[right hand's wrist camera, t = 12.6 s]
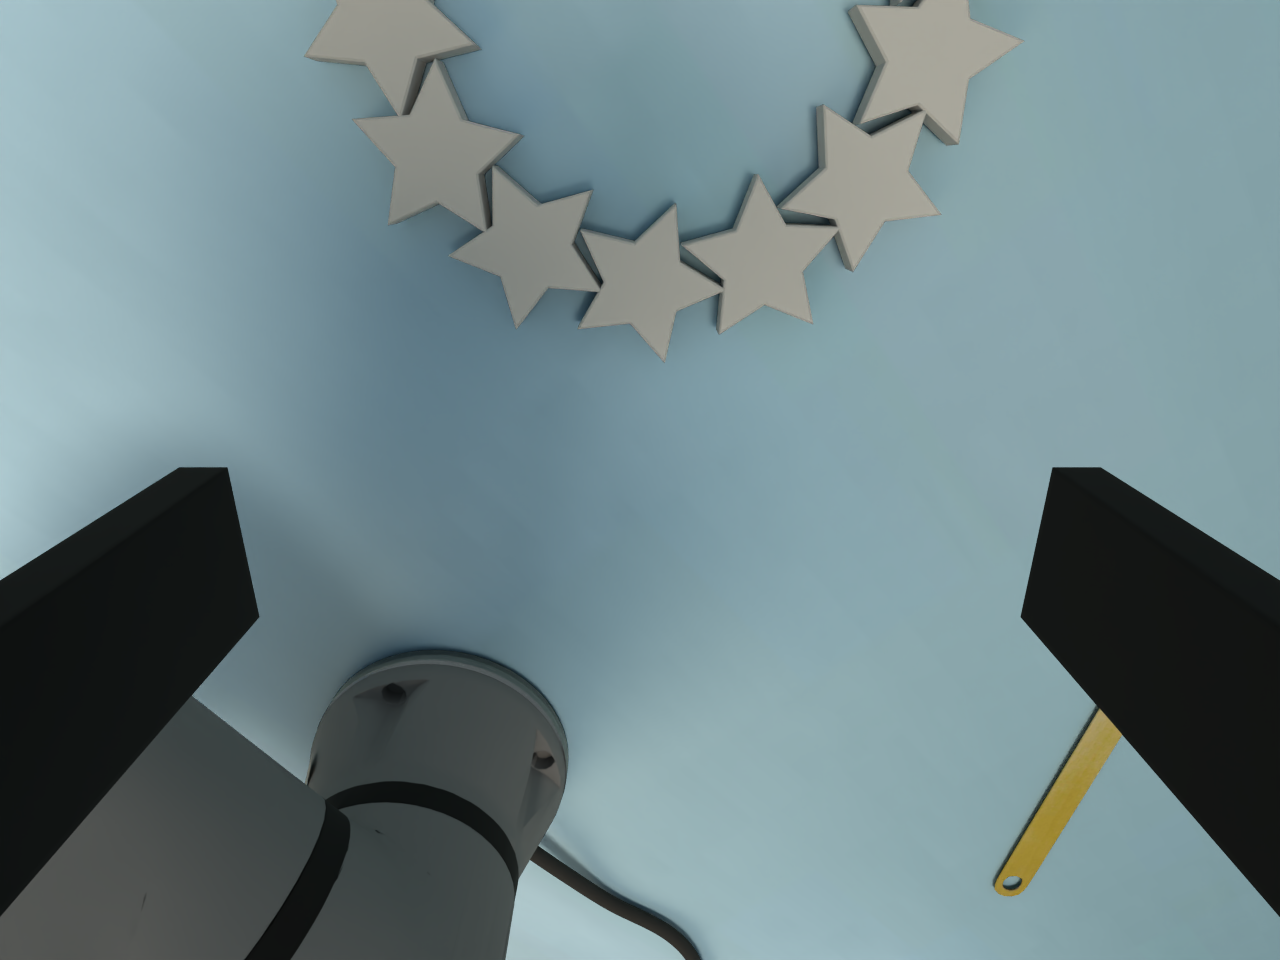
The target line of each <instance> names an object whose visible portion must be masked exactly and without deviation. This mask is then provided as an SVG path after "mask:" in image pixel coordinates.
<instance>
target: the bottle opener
mask: <svg viewBox="0 0 1280 960" xmlns="http://www.w3.org/2000/svg"><path fill="white" fill-rule="evenodd" d="M1121 736H1122V734H1121V733H1120V731H1119V730H1118V729H1117V728H1116V727H1115V726H1114V724H1113V723H1112V722H1111V721H1110V720H1109V719H1108V718H1107V716H1106V715H1105V714H1104V713H1103V712H1102V711H1101V709H1100V708H1099V710H1098V712H1097V713H1096V715H1095V717H1094V718H1093V720H1092V721H1091V723H1090V725H1089V726H1088V728H1087V730H1086V731H1085V733H1084V735H1083V736H1082V738H1081V740H1080V741H1079V743H1078V745H1077V746H1076V748H1075V750H1074V751H1073V753H1072V755H1071V756H1070V758H1069V760H1068V761H1067V763H1066V765H1065V766H1064V768H1063V770H1062V771H1061V773H1060V775H1059V776H1058V778H1057V780H1056V781H1055V783H1054V785H1053V786H1052V788H1051V790H1050V791H1049V793H1048V795H1047V796H1046V798H1045V800H1044V801H1043V803H1042V805H1041V806H1040V808H1039V810H1038V811H1037V813H1036V815H1035V816H1034V818H1033V820H1032V821H1031V823H1030V825H1029V826H1028V828H1027V830H1026V831H1025V833H1024V835H1023V836H1022V838H1021V840H1020V841H1019V843H1018V845H1017V846H1016V848H1015V850H1014V851H1013V853H1012V855H1011V856H1010V858H1009V860H1008V861H1007V863H1006V865H1005V866H1004V868H1003V870H1002V871H1001V873H1000V875H999V876H998V878H997V880H996V883H995V890H996V891H997V892H998V894H1001V895H1003V896H1015V895H1018V894H1020V893H1021V892H1023V891H1024V890H1025V888H1026V887H1027V886H1028V884H1029V883H1030V881H1031V880H1032V878H1033V877H1034V875H1035V873H1036V872H1037V870H1038V869H1039V867H1040V865H1041V864H1042V862H1043V861H1044V859H1045V857H1046V856H1047V854H1048V853H1049V851H1050V849H1051V848H1052V846H1053V845H1054V843H1055V841H1056V840H1057V838H1058V837H1059V835H1060V833H1061V832H1062V830H1063V829H1064V827H1065V825H1066V824H1067V822H1068V821H1069V819H1070V817H1071V816H1072V814H1073V813H1074V811H1075V809H1076V808H1077V806H1078V805H1079V803H1080V801H1081V800H1082V798H1083V797H1084V795H1085V793H1086V792H1087V790H1088V789H1089V787H1090V785H1091V784H1092V782H1093V781H1094V779H1095V777H1096V776H1097V774H1098V773H1099V771H1100V769H1101V768H1102V766H1103V765H1104V763H1105V761H1106V760H1107V758H1108V757H1109V755H1110V753H1111V752H1112V750H1113V749H1114V747H1115V745H1116V744H1117V742H1118V741H1119V739H1120V737H1121ZM1009 876H1018V877H1020V878H1021V879H1022V882H1021V885H1020V886H1019V887H1017V888H1015V889H1006V888H1004V887H1003V881H1004V880H1005V879H1006V878H1007V877H1009Z"/></svg>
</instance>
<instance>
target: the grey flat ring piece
mask: <svg viewBox="0 0 1280 960" xmlns="http://www.w3.org/2000/svg"><path fill="white" fill-rule="evenodd" d="M902 1H903V0H890V6H874V5H856V6H854V7H853V8H852V9H851V10H849V11H848V13H849V15H850V17H851V19H852V21H853V23H854V25H855V27H856V29H857V31H858V32H859V34H860V36H861V38H862V40H863V42H864V44H865V46H866V48H867V50H868V52H869V53H870V55H871V57H872V59H873V61H874V63H875V65H876V68H875V70H874V73H873V75H872V77H871V80H870V82H869V85H868V87H867V89H866V92H865V94H864V96H863V99H862V101H861V104H860V106H859V108H858V111H857V113H856V115H855V118H854V120H853V123H851V122H849V121H848V120H846V119H845V118H843V117H842V116H840V115H839V114H837V113H836V112H834V111H833V110H831V109H830V108H828V107H827V106H825V105H820V106H818V107H816V114H817V138H818V163H819V168H818V169H817V170H816V171H815V172H814V173H813V174H811V175H810V176H809V177H808V178H807V179H806V180H805V181H804V182H803V183H802V184H801V185H799V186H798V187H797V188H796V189H795V190H794V191H793V192H792V193H791V194H790V195H789V196H787V197H786V198H785V199H784V200H783V201H782V202H781V203H780V204H779V205H778V206H777V207H776V206H775V204H774V202H773V200H772V198H771V196H770V195H769V193H768V191H767V189H766V187H765V185H764V184H763V182H762V180H761V178H760V176H759V174H754V175H753V178H752V180H751V183H750V186H749V188H748V191H747V193H746V196H745V198H744V201H743V203H742V206H741V208H740V211H739V214H738V216H737V219H736V221H735V224H734V226H733V228H732V229H729V230H725V231H721V232H718V233H714V234H711V235H707V236H703V237H700V238H696V239H692V240H689V241H685V242H681V245H682V246H683V247H685V248H686V249H687V250H688V251H689V252H691V253H692V254H693V255H694V256H695V257H697V258H698V259H699V260H700V261H701V262H702V263H704V264H705V265H706V266H707V267H708V268H710V269H711V270H712V271H713V272H714V273H716V274H717V275H718V276H719V277H720V278H721V283H718V282H716V281H715V280H713V279H711V278H710V277H708V276H706V275H705V274H703V273H701V272H700V271H698V270H696V269H695V268H693V267H691V266H690V265H688V264H686V263H685V262H683V261H681V260H680V253H679V238H678V223H677V208H676V203H674V204H673V205H672V206H671V207H670V208H669V209H668V210H667V211H666V212H665V213H664V214H663V215H662V216H661V217H659V218H658V219H657V220H656V221H655V222H654V223H653V224H652V225H651V226H650V227H649V228H648V229H647V230H646V231H645V232H644V233H643V234H642V235H640V236H639V237H638V238H637V239H636V240H635V241H633V240H629V239H625V238H621V237H616V236H612V235H608V234H604V233H600V232H595V231H591V230H587V229H583V228H582V229H581V230H580V231H581V233H582V236H583V238H584V240H585V242H586V244H587V247H588V249H589V251H590V253H591V255H592V258H593V260H594V262H595V264H596V266H597V269H598V271H599V273H600V275H601V278H602V280H603V283H602V285H601V283H600V282H599V280H598V279H597V277H596V275H595V274H594V272H593V271H592V269H591V268H590V266H589V264H588V263H587V261H586V260H585V258H584V257H583V255H582V253H581V252H580V250H579V249H578V247H577V246H576V244H575V243H574V242H575V239H576V236H577V233H578V231H579V228H580V225H581V223H582V220H583V217H584V214H585V212H586V209H587V206H588V204H589V201H590V198H591V195H592V193H593V190H590V191H587V192H583V193H579V194H576V195H572V196H568V197H565V198H561V199H558V200H554V201H550V202H547V203H543V204H541V203H540V202H539V201H537V200H536V199H535V198H534V197H533V196H532V195H531V194H529V193H528V192H527V191H526V190H525V189H524V188H523V187H521V186H520V185H519V184H518V183H517V182H516V181H515V180H513V179H512V178H511V177H510V176H509V175H508V174H507V173H505V172H504V171H503V170H502V169H501V168H500V167H499V166H494V165H495V164H496V163H497V162H498V161H499V160H500V159H501V158H502V157H503V156H504V155H505V154H506V153H507V152H508V151H509V150H510V149H511V148H512V147H513V146H515V145H516V144H517V143H518V142H519V141H520V140H521V139H522V138H523V137H524V136H523V135H520V134H517V133H513V132H509V131H505V130H501V129H497V128H493V127H489V126H485V125H481V124H477V123H474V122H470V121H469V120H468V118H467V116H466V113H465V111H464V109H463V107H462V104H461V102H460V100H459V97H458V95H457V93H456V91H455V88H454V86H453V84H452V81H451V79H450V77H449V74H448V72H447V70H446V68H445V65H444V63H443V62H441V61H440V60H441V59H445V58H449V57H453V56H457V55H461V54H465V53H469V52H473V51H477V50H481V48H480V47H479V46H478V45H477V44H476V43H474V42H473V41H472V40H471V39H470V38H469V37H468V36H467V35H466V34H465V33H464V32H463V31H461V30H460V29H459V28H458V27H457V26H456V25H455V24H454V23H453V22H452V21H451V20H450V19H449V18H447V17H446V16H445V15H444V14H443V13H442V12H441V11H440V10H439V9H438V8H437V7H436V6H435V5H434V0H336V2H337V6H336V7H335V9H334V10H333V12H332V14H331V15H330V17H329V18H328V20H327V21H326V23H325V24H324V26H323V28H322V29H321V31H320V32H319V34H318V35H317V37H316V38H315V40H314V41H313V43H312V45H311V46H310V48H309V49H308V51H307V52H306V54H305V55H304V57H307V58H310V59H313V60H316V61H322V62H332V63H342V64H353V65H363V66H367V67H368V69H369V70H370V72H371V74H372V75H373V77H374V78H375V80H376V82H377V83H378V85H379V86H380V88H381V89H382V91H383V93H384V94H385V96H386V97H387V99H388V101H389V102H390V104H391V105H392V107H393V109H394V110H395V112H396V113H397V115H398V116H386V117H372V118H358V119H352V120H353V121H354V122H355V123H356V124H357V125H358V127H359V128H360V129H361V130H362V131H363V132H364V133H365V134H366V135H367V136H368V138H369V139H370V140H371V141H372V142H373V143H374V144H375V145H376V146H377V147H378V149H379V150H380V151H381V152H382V153H383V154H384V155H385V156H386V157H387V159H388V160H389V161H390V162H391V163H392V164H393V165H394V166H395V172H394V180H393V188H392V196H391V204H390V212H389V220H388V225H392V224H397V223H399V222H402V221H404V220H406V219H408V218H410V217H412V216H414V215H417V214H419V213H421V212H423V211H425V210H427V209H430V208H432V207H434V206H436V205H438V204H440V205H442V206H443V207H445V208H447V209H448V210H450V211H451V212H453V213H455V214H456V215H458V216H459V217H461V218H462V219H464V220H466V221H467V222H469V223H470V224H472V225H474V226H475V227H477V228H478V229H480V230H481V231H483V233H481V234H480V235H478V236H477V237H475V238H474V239H472V240H471V241H469V242H468V243H466V244H465V245H463V246H462V247H460V248H459V249H457V250H456V251H454V252H453V253H451V254H450V255H448V256H449V257H452V258H454V259H457V260H459V261H462V262H464V263H467V264H470V265H472V266H475V267H477V268H480V269H482V270H485V271H487V272H490V273H492V274H495V275H497V276H500V277H501V281H502V284H503V288H504V291H505V294H506V298H507V301H508V304H509V308H510V311H511V314H512V318H513V321H514V324H515V328H516V329H517V328H518V327H519V326H520V324H521V323H522V322H523V320H524V319H525V318H526V317H527V315H528V314H529V313H530V311H531V310H532V309H533V307H534V306H535V305H536V303H537V302H538V301H539V300H540V298H541V297H542V296H543V294H544V293H545V292H546V290H547V289H548V288H555V289H567V290H579V291H591V292H597V294H596V296H595V297H594V299H593V301H592V303H591V305H590V306H589V308H588V310H587V312H586V313H585V315H584V317H583V319H582V320H581V322H580V324H579V326H578V329H584V328H594V327H603V326H612V325H622V324H631V325H632V326H633V327H634V329H635V330H636V331H637V332H638V333H639V334H640V335H641V337H642V338H643V339H644V340H645V341H646V342H647V344H648V345H649V346H650V347H651V348H652V349H653V350H654V352H655V353H656V354H657V355H658V356H659V357H660V358H661V360H662V361H663V362H664V363H665V359H666V355H667V351H668V346H669V342H670V337H671V333H672V329H673V324H674V320H675V315H676V311H679V310H681V309H683V308H686V307H688V306H690V305H693V304H695V303H697V302H700V301H702V300H704V299H707V298H709V297H711V296H714V295H716V294H718V293H719V304H718V315H717V326H716V330H717V332H718V334H721V333H722V332H724V331H725V330H727V329H728V328H730V327H732V326H733V325H735V324H736V323H738V322H739V321H741V320H742V319H744V318H745V317H747V316H748V315H750V314H752V313H753V312H755V311H756V310H758V309H759V308H761V307H762V306H764V305H766V306H769V307H771V308H774V309H776V310H779V311H781V312H784V313H786V314H789V315H791V316H794V317H796V318H799V319H801V320H804V321H806V322H809V323H811V324H813V320H812V315H811V310H810V305H809V300H808V295H807V290H806V285H805V280H804V275H803V271H804V270H805V269H806V267H807V266H808V265H809V264H810V263H811V262H812V261H813V259H814V258H815V257H816V256H817V255H818V254H819V252H820V251H821V250H822V249H823V248H824V247H825V246H826V244H827V243H828V242H829V241H830V240H831V239H832V238H833V236H834V237H835V240H836V243H837V246H838V248H839V251H840V254H841V257H842V260H843V263H844V266H845V269H848V270H850V271H852V272H853V271H854V270H855V268H856V267H857V265H858V263H859V262H860V260H861V259H862V257H863V255H864V254H865V252H866V251H867V249H868V248H869V246H870V244H871V243H872V241H873V240H874V238H875V236H876V235H877V233H878V232H879V230H880V228H881V227H882V225H883V224H884V222H885V221H892V220H901V219H909V218H918V217H926V216H935V215H941V213H940V212H939V211H938V209H937V208H936V207H935V205H934V204H933V203H932V201H931V200H930V199H929V198H928V196H927V195H926V194H925V192H924V191H923V190H922V188H921V187H920V186H919V184H918V183H917V182H916V180H915V179H914V178H913V176H912V175H911V174H910V172H909V171H908V170H909V166H910V163H911V160H912V157H913V154H914V150H915V147H916V144H917V141H918V137H919V134H920V131H921V128H922V125H923V123H924V124H925V125H926V126H927V127H928V128H929V129H930V130H931V131H932V132H933V133H934V134H935V135H936V136H937V137H938V138H939V139H940V140H941V141H942V142H943V143H944V144H945V145H946V146H947V145H958V144H959V140H960V133H961V127H962V121H963V114H964V108H965V101H966V95H967V88H968V82H969V79H970V78H971V77H973V76H974V75H976V74H977V73H979V72H980V71H982V70H983V69H985V68H986V67H987V66H989V65H990V64H992V63H993V62H995V61H996V60H998V59H999V58H1001V57H1002V56H1003V55H1005V54H1006V53H1008V52H1009V51H1011V50H1012V49H1014V48H1015V47H1017V46H1018V45H1019V44H1021V43H1022V42H1024V40H1021V39H1019V38H1016V37H1014V36H1012V35H1009V34H1007V33H1004V32H1002V31H999V30H997V29H995V28H992V27H990V26H987V25H985V24H983V23H980V22H978V21H975V20H973V19H971V18H970V11H969V2H968V0H917V1H916V2H915V3H914V5H913V6H912V7H902V6H896V5H898V4H899V3H901V2H902ZM429 62H433V64H432V66H431V68H430V70H429V73H428V75H427V77H426V79H425V81H424V84H423V86H422V88H421V90H420V93H419V95H418V91H419V88H420V84H421V80H422V77H423V73H424V70H425V66H426V63H429ZM417 95H418V97H417ZM416 98H417V99H416ZM907 108H908V109H909V110H910V111H911V112H912V113H911V114H909V115H907V116H905V117H903V118H901V119H899V120H897V121H895V122H893V123H891V124H889V125H887V126H885V127H883V128H881V129H879V130H877V131H875V132H873V133H871V134H867V133H866V132H864V131H863V130H861V129H860V128H858V127H857V126H855V125H858V124H861V123H864V122H867V121H871V120H874V119H877V118H880V117H883V116H886V115H889V114H892V113H895V112H898V111H901V110H904V109H907ZM491 167H492V211H493V226H492V223H491V217H490V210H489V203H488V196H487V189H486V183H485V176H484V174H485V173H486V172H487V171H488V170H489V169H490V168H491ZM777 208H780V209H785V210H790V211H795V212H800V213H805V214H810V215H815V216H820V217H825V218H828V219H829V222H830V225H819V224H795V223H785V222H784V220H783V218H782V217H781V215H780V213H779V211H778V209H777Z"/></svg>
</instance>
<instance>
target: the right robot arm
mask: <svg viewBox="0 0 1280 960" xmlns="http://www.w3.org/2000/svg"><path fill="white" fill-rule="evenodd" d="M258 618H259V613H258V608H257V603H256V599H255V594H254V589H253V585H252V580H251V575H250V571H249V566H248V561H247V557H246V552H245V547H244V543H243V538H242V533H241V529H240V524H239V519H238V515H237V510H236V505H235V501H234V496H233V491H232V487H231V482H230V477H229V473H228V468H227V467H179V468H178V469H176V470H174V471H173V472H171V473H170V474H168V475H167V476H165V477H163V478H162V479H160V480H159V481H157V482H155V483H154V484H152V485H151V486H149V487H147V488H146V489H144V490H143V491H141V492H140V493H138V494H136V495H135V496H133V497H132V498H130V499H128V500H127V501H125V502H124V503H122V504H121V505H119V506H117V507H116V508H114V509H113V510H111V511H109V512H108V513H106V514H105V515H103V516H102V517H100V518H98V519H97V520H95V521H94V522H92V523H90V524H89V525H87V526H86V527H84V528H83V529H81V530H79V531H78V532H76V533H75V534H73V535H71V536H70V537H68V538H67V539H65V540H64V541H62V542H60V543H59V544H57V545H56V546H54V547H52V548H51V549H49V550H48V551H46V552H45V553H43V554H41V555H40V556H38V557H37V558H35V559H33V560H32V561H30V562H29V563H27V564H26V565H24V566H22V567H21V568H19V569H18V570H16V571H14V572H13V573H11V574H10V575H8V576H7V577H5V578H3V579H2V580H0V960H505V958H506V952H507V946H508V940H509V933H510V927H511V921H512V915H513V908H514V901H515V896H516V891H517V885H518V879H519V877H520V876H521V874H522V872H523V870H524V869H525V867H526V865H527V864H528V862H529V860H531V861H532V862H534V863H535V864H537V865H538V866H540V867H541V868H543V869H544V870H546V871H547V872H549V873H550V874H552V875H553V876H555V877H556V878H558V879H559V880H561V881H562V882H564V883H565V884H567V885H568V886H570V887H572V888H573V889H575V890H576V891H578V892H579V893H581V894H582V895H584V896H585V897H587V898H589V899H590V900H592V901H593V902H595V903H597V904H598V905H600V906H602V907H603V908H605V909H607V910H609V911H611V912H613V913H614V914H616V915H618V916H621V917H623V918H625V919H627V920H629V921H631V922H633V923H635V924H638V925H640V926H642V927H644V928H646V929H648V930H650V931H652V932H654V933H655V934H657V935H659V936H660V937H662V938H663V939H665V940H666V941H668V942H669V943H670V944H671V945H673V946H674V947H675V948H676V949H677V950H678V951H679V952H680V953H681V954H682V956H683V957H684V958H685V960H701V959H700V957H699V955H698V953H697V952H696V950H695V949H694V947H693V946H692V944H691V943H690V942H689V941H688V940H687V939H686V938H685V937H684V936H683V935H682V934H681V933H680V932H678V931H677V930H676V929H675V928H673V927H672V926H670V925H669V924H667V923H666V922H664V921H662V920H661V919H659V918H657V917H655V916H653V915H651V914H649V913H647V912H645V911H643V910H641V909H639V908H637V907H634V906H632V905H630V904H628V903H626V902H624V901H622V900H620V899H618V898H616V897H615V896H613V895H611V894H610V893H608V892H606V891H605V890H603V889H601V888H600V887H598V886H597V885H595V884H594V883H592V882H590V881H589V880H587V879H586V878H584V877H583V876H581V875H580V874H578V873H577V872H576V871H574V870H573V869H571V868H570V867H568V866H567V865H565V864H564V863H562V862H561V861H559V860H558V859H556V858H555V857H553V856H552V855H550V854H549V853H548V852H546V851H545V850H543V849H542V848H540V847H539V846H538V845H539V843H540V842H541V840H542V838H543V836H544V835H545V833H546V831H547V830H548V828H549V826H550V825H551V823H552V821H553V819H554V817H555V815H556V813H557V811H558V808H559V805H560V802H561V799H562V796H563V793H564V789H565V784H566V777H567V769H568V746H567V741H566V736H565V733H564V730H563V727H562V725H561V723H560V721H559V718H558V717H557V715H556V713H555V712H554V710H553V708H552V707H551V706H550V704H549V703H548V702H547V700H546V699H545V698H544V697H543V696H542V695H541V694H540V692H538V691H537V690H536V689H535V688H534V687H533V686H532V685H531V684H530V683H528V682H527V681H526V680H524V679H523V678H522V677H520V676H519V675H517V674H516V673H514V672H512V671H511V670H509V669H507V668H505V667H503V666H501V665H499V664H497V663H494V662H492V661H489V660H487V659H484V658H481V657H478V656H474V655H470V654H466V653H460V652H454V651H443V650H422V651H412V652H407V653H401V654H397V655H394V656H390V657H387V658H385V659H382V660H379V661H377V662H375V663H373V664H371V665H369V666H367V667H365V668H364V669H362V670H361V671H359V672H358V673H356V674H355V675H354V676H353V677H351V678H350V679H349V680H348V681H347V682H346V683H345V684H344V685H343V686H342V687H341V688H340V690H339V691H338V692H337V694H336V695H335V697H334V698H333V700H332V702H331V703H330V705H329V707H328V708H327V710H326V712H325V713H324V715H323V717H322V719H321V721H320V723H319V726H318V729H317V732H316V735H315V738H314V741H313V744H312V749H311V755H310V764H309V768H308V772H307V777H306V781H305V783H303V782H302V781H301V780H299V779H298V778H296V777H295V776H294V775H293V774H291V773H290V772H289V771H287V770H286V769H285V768H284V767H282V766H281V765H280V764H278V763H277V762H276V761H275V760H273V759H272V758H271V757H269V756H268V755H267V754H266V753H264V752H263V751H262V750H260V749H259V748H258V747H257V746H255V745H254V744H253V743H252V742H250V741H249V740H248V739H246V738H245V737H244V736H243V735H241V734H240V733H239V732H237V731H236V730H235V729H234V728H232V727H231V726H230V725H228V724H227V723H226V722H225V721H223V720H222V719H221V718H219V717H218V716H217V715H216V714H214V713H213V712H212V711H211V710H209V709H208V708H207V707H205V706H204V705H203V704H202V703H200V702H199V701H198V700H196V699H195V698H194V697H193V696H192V694H193V693H194V692H195V691H196V690H197V689H198V687H199V686H200V685H201V684H202V683H203V682H204V681H205V679H206V678H207V677H208V676H209V675H210V674H211V672H212V671H213V670H214V669H215V668H216V667H217V665H218V664H219V663H220V662H221V661H222V660H223V659H224V657H225V656H226V655H227V654H228V653H229V652H230V650H231V649H232V648H233V647H234V646H235V645H236V643H237V642H238V641H239V640H240V639H241V638H242V637H243V635H244V634H245V633H246V632H247V631H248V630H249V628H250V627H251V626H252V625H253V624H254V623H255V621H256V620H257V619H258ZM1021 618H1022V619H1023V620H1024V622H1025V623H1026V624H1027V625H1028V626H1029V627H1030V628H1031V630H1032V631H1033V632H1034V633H1035V634H1036V635H1037V637H1038V638H1039V639H1040V640H1041V641H1042V642H1043V643H1044V645H1045V646H1046V647H1047V648H1048V649H1049V650H1050V652H1051V653H1052V654H1053V655H1054V656H1055V657H1056V659H1057V660H1058V661H1059V662H1060V663H1061V664H1062V665H1063V667H1064V668H1065V669H1066V670H1067V671H1068V672H1069V674H1070V675H1071V676H1072V677H1073V678H1074V679H1075V681H1076V682H1077V683H1078V684H1079V685H1080V686H1081V687H1082V689H1083V690H1084V691H1085V692H1086V693H1087V694H1088V696H1089V697H1090V698H1091V699H1092V700H1093V701H1094V703H1095V704H1096V705H1097V706H1098V707H1099V708H1100V709H1101V711H1102V712H1103V713H1104V714H1105V715H1106V716H1107V718H1108V719H1109V720H1110V721H1111V722H1112V723H1113V724H1114V726H1115V727H1116V728H1117V729H1118V730H1119V731H1120V733H1121V734H1122V735H1123V736H1124V737H1125V738H1126V740H1127V741H1128V742H1129V743H1130V744H1131V745H1132V746H1133V748H1134V749H1135V750H1136V751H1137V752H1138V753H1139V755H1140V756H1141V757H1142V758H1143V759H1144V760H1145V762H1146V763H1147V764H1148V765H1149V766H1150V767H1151V768H1152V770H1153V771H1154V772H1155V773H1156V774H1157V775H1158V777H1159V778H1160V779H1161V780H1162V781H1163V782H1164V784H1165V785H1166V786H1167V787H1168V788H1169V789H1170V790H1171V792H1172V793H1173V794H1174V795H1175V796H1176V797H1177V799H1178V800H1179V801H1180V802H1181V803H1182V804H1183V806H1184V807H1185V808H1186V809H1187V810H1188V811H1189V812H1190V814H1191V815H1192V816H1193V817H1194V818H1195V819H1196V821H1197V822H1198V823H1199V824H1200V825H1201V826H1202V827H1203V829H1204V830H1205V831H1206V832H1207V833H1208V834H1209V836H1210V837H1211V838H1212V839H1213V840H1214V841H1215V843H1216V844H1217V845H1218V846H1219V847H1220V848H1221V849H1222V851H1223V852H1224V853H1225V854H1226V855H1227V856H1228V858H1229V859H1230V860H1231V861H1232V862H1233V863H1234V865H1235V866H1236V867H1237V868H1238V869H1239V870H1240V871H1241V873H1242V874H1243V875H1244V876H1245V877H1246V878H1247V880H1248V881H1249V882H1250V883H1251V884H1252V885H1253V887H1254V888H1255V889H1256V890H1257V891H1258V892H1259V893H1260V895H1261V896H1262V897H1263V898H1264V899H1265V900H1266V902H1267V903H1268V904H1269V905H1270V906H1271V907H1272V908H1273V910H1274V911H1275V912H1276V913H1277V914H1278V915H1279V917H1280V580H1278V579H1277V578H1275V577H1273V576H1272V575H1270V574H1269V573H1267V572H1266V571H1264V570H1262V569H1261V568H1259V567H1258V566H1256V565H1254V564H1253V563H1251V562H1250V561H1248V560H1247V559H1245V558H1243V557H1242V556H1240V555H1239V554H1237V553H1235V552H1234V551H1232V550H1231V549H1229V548H1228V547H1226V546H1224V545H1223V544H1221V543H1220V542H1218V541H1216V540H1215V539H1213V538H1212V537H1210V536H1209V535H1207V534H1205V533H1204V532H1202V531H1201V530H1199V529H1197V528H1196V527H1194V526H1193V525H1191V524H1190V523H1188V522H1186V521H1185V520H1183V519H1182V518H1180V517H1178V516H1177V515H1175V514H1174V513H1172V512H1171V511H1169V510H1167V509H1166V508H1164V507H1163V506H1161V505H1159V504H1158V503H1156V502H1155V501H1153V500H1152V499H1150V498H1148V497H1147V496H1145V495H1144V494H1142V493H1140V492H1139V491H1137V490H1136V489H1134V488H1133V487H1131V486H1129V485H1128V484H1126V483H1125V482H1123V481H1121V480H1120V479H1118V478H1117V477H1115V476H1113V475H1112V474H1110V473H1109V472H1107V471H1106V470H1104V469H1102V468H1101V467H1053V468H1052V473H1051V477H1050V482H1049V487H1048V491H1047V496H1046V501H1045V505H1044V510H1043V515H1042V519H1041V524H1040V529H1039V533H1038V538H1037V543H1036V547H1035V552H1034V557H1033V561H1032V566H1031V571H1030V575H1029V580H1028V585H1027V589H1026V594H1025V599H1024V603H1023V608H1022V613H1021ZM307 781H308V782H307Z"/></svg>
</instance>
